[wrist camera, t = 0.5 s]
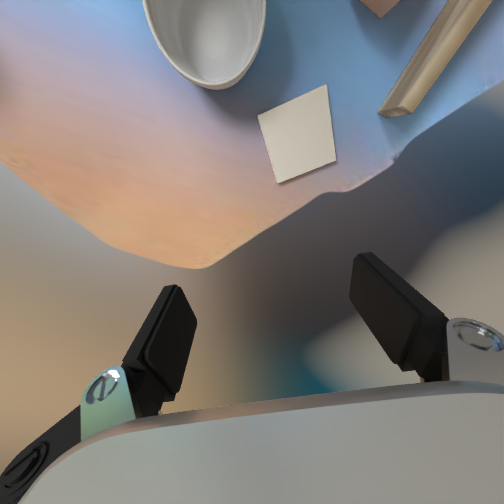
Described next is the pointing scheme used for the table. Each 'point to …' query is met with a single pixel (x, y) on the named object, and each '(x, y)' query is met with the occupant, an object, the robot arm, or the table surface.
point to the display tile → (299, 134)
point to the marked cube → (380, 6)
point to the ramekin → (208, 37)
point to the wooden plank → (433, 55)
